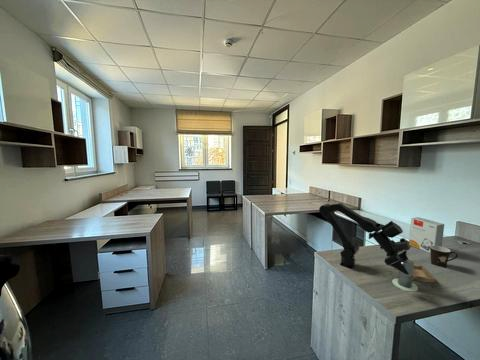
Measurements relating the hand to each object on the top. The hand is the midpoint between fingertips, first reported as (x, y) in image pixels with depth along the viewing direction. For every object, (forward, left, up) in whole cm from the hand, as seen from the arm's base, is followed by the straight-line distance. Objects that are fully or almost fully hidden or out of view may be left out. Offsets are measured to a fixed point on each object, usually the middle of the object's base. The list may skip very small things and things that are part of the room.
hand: (409, 270), depth 101 cm
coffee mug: (+10, +38, -9) cm, 40 cm away
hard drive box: (0, +59, -9) cm, 60 cm away
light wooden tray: (0, +15, -9) cm, 17 cm away
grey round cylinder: (-1, 0, -8) cm, 8 cm away
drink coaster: (-1, 0, -9) cm, 9 cm away
